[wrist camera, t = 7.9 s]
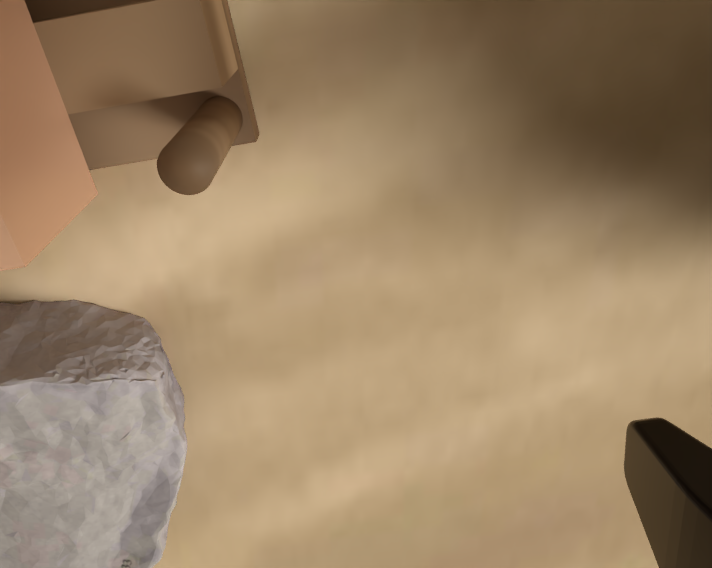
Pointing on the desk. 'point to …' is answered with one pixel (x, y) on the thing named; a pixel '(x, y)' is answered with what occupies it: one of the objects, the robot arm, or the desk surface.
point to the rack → (149, 83)
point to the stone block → (86, 437)
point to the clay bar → (34, 146)
